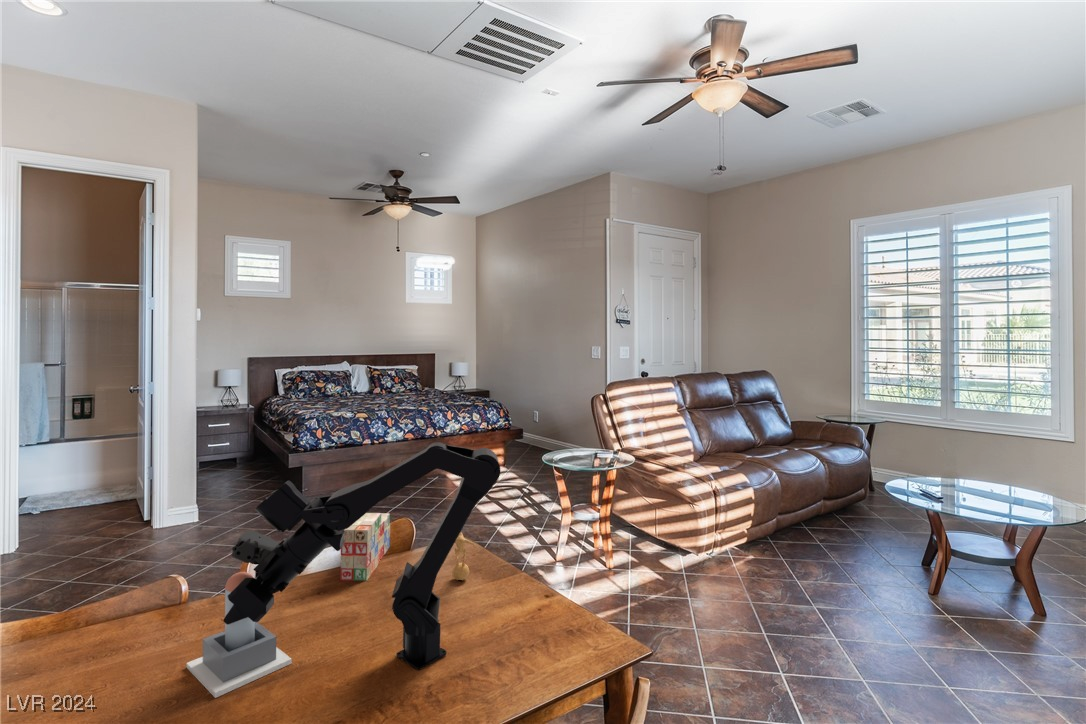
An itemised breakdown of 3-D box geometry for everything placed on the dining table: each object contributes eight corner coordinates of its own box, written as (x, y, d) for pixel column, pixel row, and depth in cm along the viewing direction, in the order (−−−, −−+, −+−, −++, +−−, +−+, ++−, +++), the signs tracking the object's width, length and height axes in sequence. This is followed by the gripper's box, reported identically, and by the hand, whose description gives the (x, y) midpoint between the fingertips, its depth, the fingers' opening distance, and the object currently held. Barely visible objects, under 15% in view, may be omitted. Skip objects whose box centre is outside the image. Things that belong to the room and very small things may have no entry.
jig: (291, 663, 93) (291, 636, 93) (215, 698, 84) (215, 667, 84) (259, 638, 101) (260, 612, 100) (186, 667, 91) (186, 639, 91)
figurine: (478, 576, 130) (479, 526, 129) (477, 587, 124) (478, 535, 123) (443, 576, 129) (444, 526, 129) (440, 587, 123) (441, 535, 123)
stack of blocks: (367, 546, 147) (367, 501, 146) (390, 546, 147) (391, 502, 147) (339, 581, 125) (340, 528, 125) (366, 581, 126) (367, 529, 125)
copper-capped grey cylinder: (260, 647, 94) (260, 569, 93) (241, 661, 90) (242, 579, 89) (238, 644, 95) (238, 566, 94) (218, 658, 90) (218, 577, 90)
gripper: (284, 501, 101) (221, 561, 100) (242, 536, 83) (164, 610, 81) (327, 541, 102) (265, 601, 101) (296, 585, 84) (219, 659, 83)
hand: (231, 615), depth 92 cm, fingers closed on copper-capped grey cylinder, 4 cm apart
